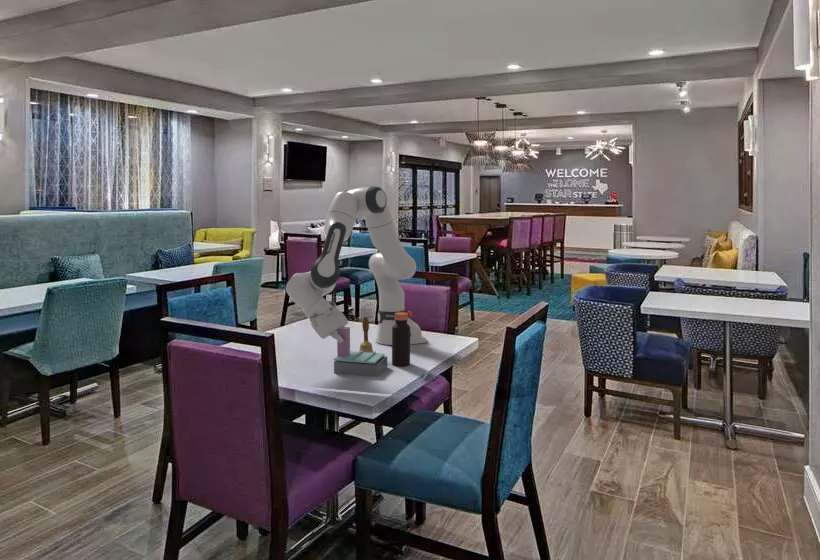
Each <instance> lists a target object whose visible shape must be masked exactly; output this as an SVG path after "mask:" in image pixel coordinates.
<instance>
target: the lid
mask: <svg viewBox="0 0 820 560" xmlns="http://www.w3.org/2000/svg"><path fill="white" fill-rule="evenodd" d="M337 333H338V334H339V335H340V336H342V337H343V338H344V339H345V340H344V341H343V342H342V343H339V342H338V340H336V342H337V343H336V344H337V346H336V347H337V348H336V349H337V352H336V353H337V354H336V355H337V356H336V357H335V358H333V362H334V361H346V362H358V363H371V364H375V363H376V362H378V361H379V360H380V359H381V358H382V357H383V356H385V353H378V352H376V351H374V350H373V353H368V352H363V351H362V350H361V351H360V352H359V351H354V350H353V351H351V327H349V326H344V327H340V328H338V329H337Z"/></svg>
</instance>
